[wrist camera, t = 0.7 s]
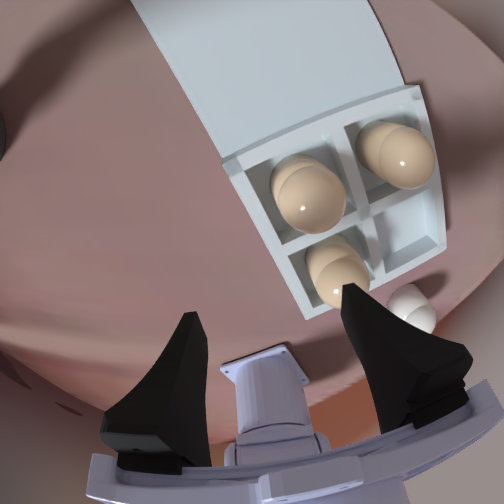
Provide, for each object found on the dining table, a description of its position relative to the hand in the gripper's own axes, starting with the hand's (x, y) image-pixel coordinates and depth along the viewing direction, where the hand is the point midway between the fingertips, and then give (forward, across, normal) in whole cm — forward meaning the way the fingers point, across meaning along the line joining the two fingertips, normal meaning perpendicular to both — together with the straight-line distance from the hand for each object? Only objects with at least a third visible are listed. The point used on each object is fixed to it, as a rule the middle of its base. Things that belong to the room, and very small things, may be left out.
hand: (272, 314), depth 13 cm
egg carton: (+10, -6, -8) cm, 14 cm away
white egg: (+10, -15, +12) cm, 21 cm away
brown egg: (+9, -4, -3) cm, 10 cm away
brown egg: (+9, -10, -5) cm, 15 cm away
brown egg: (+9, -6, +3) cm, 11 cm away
